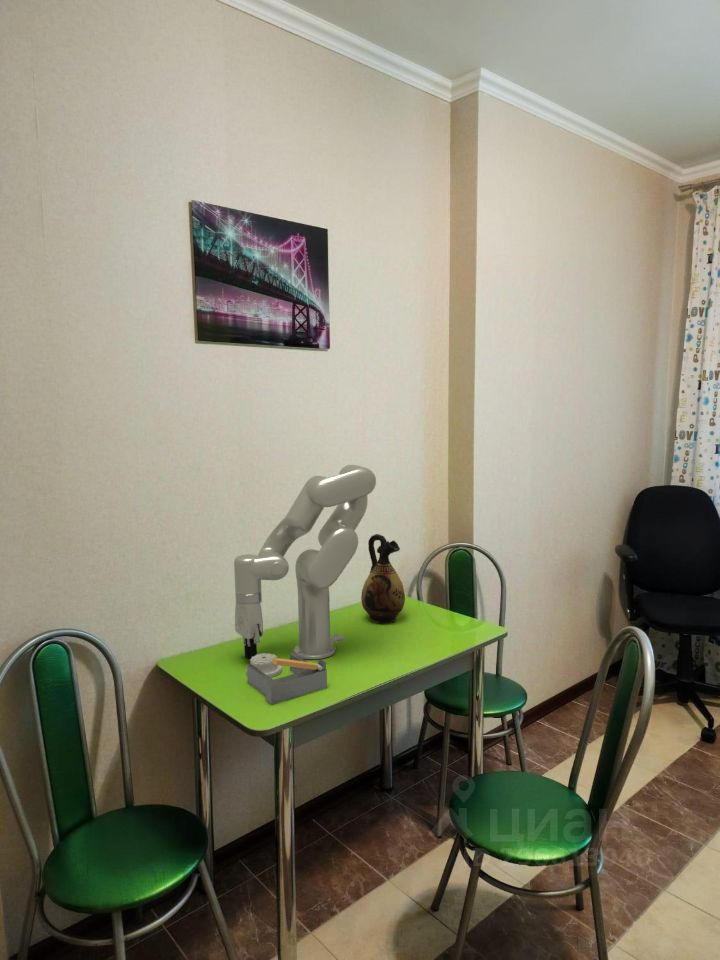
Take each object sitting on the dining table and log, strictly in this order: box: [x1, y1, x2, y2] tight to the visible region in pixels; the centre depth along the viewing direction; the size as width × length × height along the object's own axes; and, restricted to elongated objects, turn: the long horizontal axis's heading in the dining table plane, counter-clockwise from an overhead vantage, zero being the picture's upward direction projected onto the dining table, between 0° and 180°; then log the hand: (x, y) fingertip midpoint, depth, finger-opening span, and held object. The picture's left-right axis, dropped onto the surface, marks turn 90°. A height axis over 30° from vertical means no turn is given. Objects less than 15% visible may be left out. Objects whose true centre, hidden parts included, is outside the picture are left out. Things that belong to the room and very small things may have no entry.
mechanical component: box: [245, 652, 283, 678], centre depth 182 cm, size 10×4×10 cm
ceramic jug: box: [360, 533, 406, 625], centre depth 224 cm, size 17×15×30 cm
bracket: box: [246, 652, 328, 706], centre depth 172 cm, size 17×16×7 cm
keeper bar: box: [272, 657, 323, 671], centre depth 167 cm, size 14×3×1 cm, turn 125°
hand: (251, 657), depth 189 cm, fingers closed
